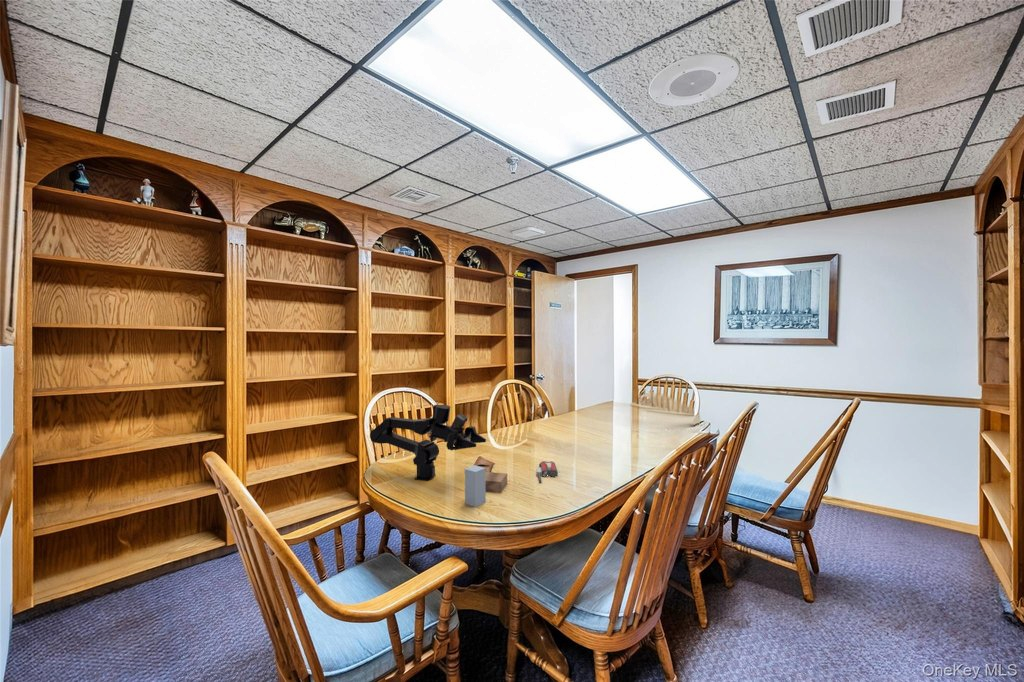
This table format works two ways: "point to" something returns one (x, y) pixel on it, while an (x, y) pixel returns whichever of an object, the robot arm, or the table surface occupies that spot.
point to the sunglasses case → (484, 464)
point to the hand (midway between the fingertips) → (481, 443)
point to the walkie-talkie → (546, 469)
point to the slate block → (475, 486)
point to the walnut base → (495, 481)
